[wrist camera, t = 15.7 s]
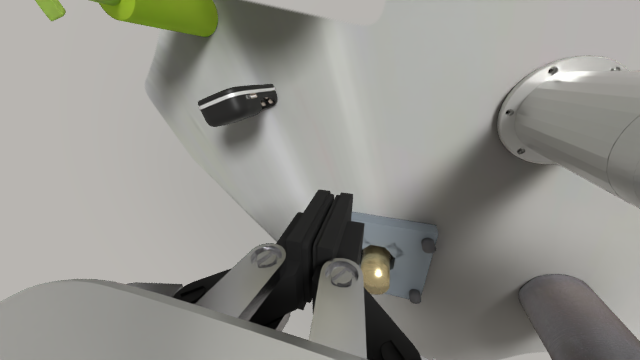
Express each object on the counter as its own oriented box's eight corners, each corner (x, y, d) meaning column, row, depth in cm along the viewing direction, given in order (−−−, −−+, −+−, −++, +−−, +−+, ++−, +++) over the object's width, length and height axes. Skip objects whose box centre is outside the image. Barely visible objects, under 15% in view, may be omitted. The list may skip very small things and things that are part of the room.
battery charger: (250, 117, 41) (203, 132, 31) (241, 96, 40) (189, 103, 30) (283, 106, 38) (244, 117, 28) (274, 82, 37) (231, 85, 27)
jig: (435, 225, 39) (440, 240, 36) (418, 290, 46) (420, 308, 42) (333, 208, 44) (327, 220, 40) (330, 270, 50) (326, 285, 47)
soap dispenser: (196, 47, 38) (31, 26, 21) (180, -3, 36) (-24, -75, 18) (225, 39, 36) (69, 7, 19) (210, -15, 34) (14, -108, 16)
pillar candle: (596, 314, 37) (705, 441, 24) (523, 318, 42) (583, 429, 28) (586, 268, 35) (702, 382, 22) (510, 277, 39) (569, 378, 26)
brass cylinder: (392, 243, 43) (391, 276, 36) (388, 263, 45) (387, 297, 38) (365, 237, 44) (359, 268, 37) (362, 257, 46) (357, 289, 39)
